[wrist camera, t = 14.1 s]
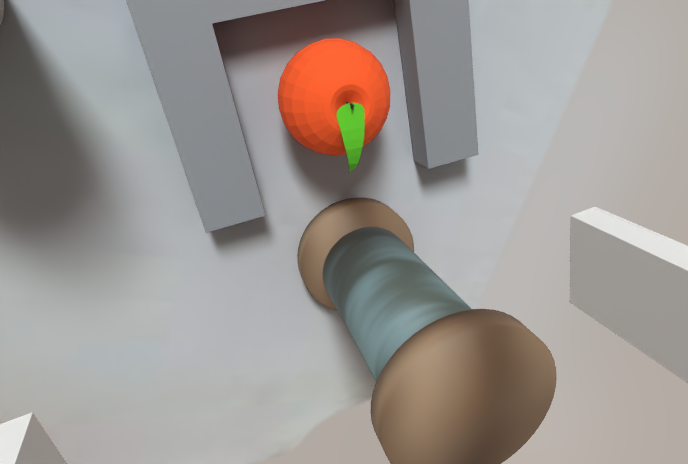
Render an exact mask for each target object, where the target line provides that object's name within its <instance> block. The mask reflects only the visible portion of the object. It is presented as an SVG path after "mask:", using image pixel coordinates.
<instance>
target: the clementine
mask: <svg viewBox="0 0 688 464" xmlns="http://www.w3.org/2000/svg"><path fill="white" fill-rule="evenodd" d="M278 103H279V110H280V113H281V116H282V119H283V122H284V124H285V126H286V127H287V129H288V130H289V132H290V133H291V135H292V136H293V137H294V138H295V139H296V140H297V141H298V142H299V143H301V144H302V145H303V146H305V147H307V148H309V149H311V150H313V151H315V152H318V153H321V154H327V155H332V156H334V155H345V154H347V157H348V162H349V169H350V170H349V172H351V171H352V170H354V169H355V167H356V166H357V164H358V162H359V159H360V156H361V152H362V147H364V146H365V145H366V144H368V143H369V142H371V141H372V140H373V139H374V137H375V136H376V135H377V134H378V133H379V132H380V130H381V129H382V127H383V125H384V123H385V121H386V119H387V115H388V111H389V108H390V87H389V82H388V78H387V75H386V73H385V71H384V69H383V67H382V65H381V63H380V62H379V61H378V60H377V59H376V58H375V56H374V55H373V54H372V53H371V52H370V51H368V50H366V49H365V48H363V47H361V46H360V45H358V44H357V43H355V42H352V41H348V40H344V39H341V38H335V39H323V40H320V41H317V42H314V43H311V44H309V45H308V46H306V47H305V48H303V49H302V50H300V51H299V52H297V53H296V54H295V55H294V57H293V58H292V59H291V60H290V61H289V63H288V64H287V65H286V67H285V69H284V72H283V74H282V76H281V78H280V83H279V89H278ZM349 172H348V173H349Z"/></svg>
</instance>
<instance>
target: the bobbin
mask: <svg viewBox="0 0 688 464" xmlns="http://www.w3.org/2000/svg"><path fill="white" fill-rule="evenodd" d="M298 267H299V271H300V274H301V276H302V278H303V280H304V283H305V285H306V287H307V289H308V290H309V292H310V293H311V294H312V296H313V297H314V298H315V299H316V300H317V301H319V302H320V303H321V304H323V305H325V306H327V307H329V308H332V309H334V310H338V312H339V314H340V316H341V318H342V320H343V321H344V323H345V325H346V327H347V329H348V331H349V333H350V334H351V336H352V338H353V340H354V342H355V344H356V345H357V347H358V349H359V351H360V353H361V355H362V356H363V358H364V360H365V362H366V364H367V366H368V367H369V369H370V371H371V373H372V375H373V377H374V379H375V380H376V385H375V388H374V391H373V395H372V400H371V419H372V424H373V427H374V430H375V432H376V435H377V437H378V439H379V441H380V443H381V445H382V447H383V450H384V452H385V454H386V456H387V457H388V459H389V461H390V463H391V464H501V463H502V462H504V461H505V460H507V459H508V458H509V457H511V456H512V455H513V454H514V453H515V452H517V451H518V450H519V449H520V448H521V447H522V446H523V445H524V444H525V443H526V442H527V441H528V440H529V439H530V437H531V436H532V435H533V434H534V433H535V431H536V430H537V428H538V427H539V426H540V424H541V422H542V421H543V419H544V418H545V416H546V413H547V412H548V410H549V407H550V405H551V402H552V399H553V396H554V392H555V387H556V367H555V363H554V359H553V357H552V354H551V352H550V350H549V349H548V348H547V346H546V345H545V344H544V343H543V342H542V341H541V340H540V339H539V338H538V337H537V336H536V335H535V334H533V333H532V332H531V331H530V330H529V329H528V328H527V327H526V326H524V325H523V324H522V323H521V322H520V321H518V320H517V319H515V318H514V317H512V316H510V315H508V314H506V313H504V312H500V311H496V310H489V309H471V308H470V307H469V306H468V305H467V304H466V303H465V302H464V301H463V300H462V299H461V298H460V297H459V296H458V295H457V294H456V293H455V292H454V291H453V290H452V289H451V288H450V287H449V286H448V285H447V284H446V283H445V282H444V281H443V280H441V279H440V278H439V277H438V276H437V275H436V274H435V273H434V272H433V271H432V270H431V269H430V268H429V267H428V266H427V265H426V264H425V263H424V262H423V261H422V260H421V259H420V258H419V257H418V256H417V255H416V254H415V253H414V243H413V238H412V235H411V232H410V230H409V228H408V226H407V224H406V223H405V222H404V220H403V219H402V218H401V217H400V216H399V215H398V214H397V213H395V212H394V211H393V210H392V209H391V208H389V207H388V206H387V205H385V204H383V203H381V202H379V201H376V200H373V199H368V198H350V199H345V200H342V201H339V202H336V203H334V204H332V205H330V206H328V207H327V208H325V209H324V210H322V211H321V212H320V213H319V214H318V215H316V216H315V218H314V219H313V220H312V221H311V222H310V223H309V225H308V226H307V228H306V229H305V231H304V233H303V235H302V238H301V240H300V243H299V247H298Z"/></svg>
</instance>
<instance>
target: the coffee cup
mask: <svg viewBox="0 0 688 464" xmlns="http://www.w3.org/2000/svg"><path fill="white" fill-rule="evenodd" d="M3 16H4V0H0V26H1V23H2V20H3Z"/></svg>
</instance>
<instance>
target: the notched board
mask: <svg viewBox="0 0 688 464" xmlns="http://www.w3.org/2000/svg"><path fill="white" fill-rule="evenodd" d="M126 1H127V4H128V7H129V10H130V13H131V16H132V19H133V21H134V24H135V27H136V30H137V33H138V36H139V39H140V42H141V45H142V48H143V51H144V54H145V56H146V59H147V62H148V65H149V68H150V71H151V74H152V77H153V80H154V83H155V86H156V89H157V92H158V94H159V97H160V100H161V103H162V106H163V109H164V112H165V115H166V118H167V121H168V124H169V127H170V129H171V132H172V135H173V138H174V141H175V144H176V147H177V150H178V153H179V156H180V159H181V162H182V164H183V167H184V170H185V173H186V176H187V179H188V182H189V185H190V188H191V191H192V194H193V197H194V200H195V202H196V205H197V208H198V211H199V214H200V217H201V220H202V223H203V226H204V229H205V232H206V233H207V232H210V231H214V230H217V229H221V228H224V227H228V226H231V225H235V224H238V223H242V222H245V221H249V220H252V219H256V218H259V217H263V216H265V212H264V209H263V205H262V201H261V198H260V194H259V191H258V187H257V183H256V180H255V176H254V173H253V169H252V166H251V162H250V158H249V155H248V151H247V148H246V144H245V140H244V137H243V133H242V130H241V126H240V122H239V119H238V115H237V112H236V108H235V104H234V101H233V97H232V94H231V90H230V86H229V83H228V79H227V76H226V72H225V68H224V65H223V61H222V58H221V54H220V50H219V47H218V43H217V40H216V36H215V32H214V29H213V25H212V23H217V22H222V21H227V20H231V19H236V18H241V17H246V16H251V15H256V14H261V13H266V12H270V11H275V10H280V9H285V8H290V7H295V6H300V5H305V4H310V3H314V2H319V1H324V0H126ZM394 5H395V13H396V21H397V29H398V37H399V45H400V53H401V61H402V69H403V77H404V85H405V93H406V101H407V109H408V117H409V125H410V133H411V141H412V149H413V157H414V161H416V162H417V163H419V164H421V165H423V166H424V167H426V168H428V169H430V168H434V167H437V166H441V165H444V164H448V163H451V162H455V161H458V160H462V159H465V158H469V157H472V156H476V155H478V142H477V127H476V111H475V96H474V80H473V65H472V49H471V34H470V18H469V3H468V0H394Z"/></svg>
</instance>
